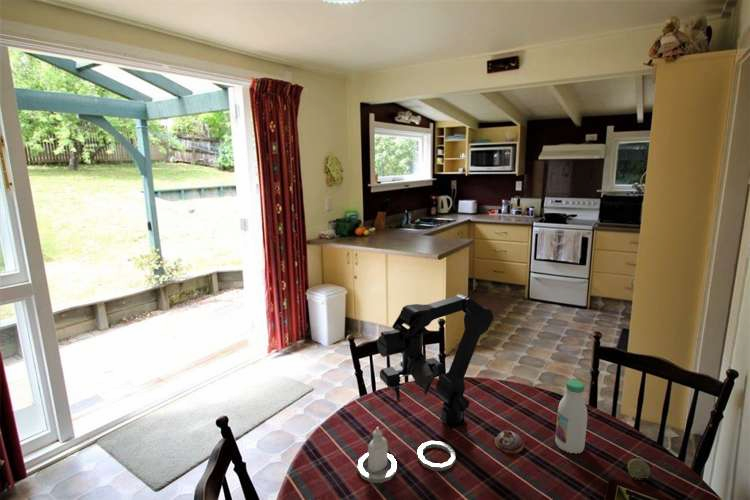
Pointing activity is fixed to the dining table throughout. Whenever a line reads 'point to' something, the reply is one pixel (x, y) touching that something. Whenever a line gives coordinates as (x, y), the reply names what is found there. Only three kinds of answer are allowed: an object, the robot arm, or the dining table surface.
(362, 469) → the collar
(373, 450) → the eye dropper bottle
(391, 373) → the robot arm
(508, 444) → the pastry
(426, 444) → the collar
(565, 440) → the milk bottle
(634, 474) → the lime
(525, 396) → the dining table surface
